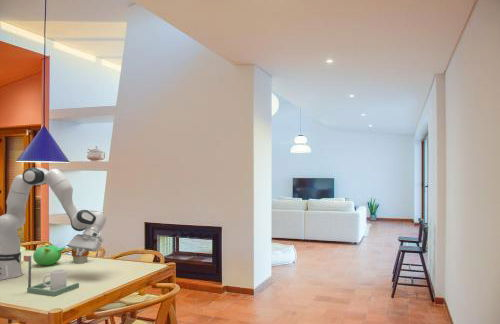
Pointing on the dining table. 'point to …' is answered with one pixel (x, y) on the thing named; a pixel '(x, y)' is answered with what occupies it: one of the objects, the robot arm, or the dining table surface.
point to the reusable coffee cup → (79, 257)
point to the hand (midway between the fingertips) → (78, 255)
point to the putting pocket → (38, 288)
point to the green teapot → (47, 254)
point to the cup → (56, 279)
